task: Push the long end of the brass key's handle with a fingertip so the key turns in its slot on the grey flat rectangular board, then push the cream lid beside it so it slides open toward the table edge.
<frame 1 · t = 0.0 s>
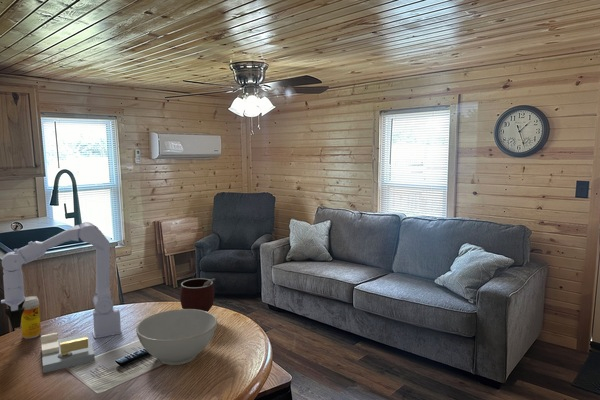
hand: (16, 323, 147), 10 cm above the table, tool pointing down, fingers open, 7 cm apart
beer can: (31, 336, 161), on the table
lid: (49, 343, 145), point 4 cm above the table, slide at 0.0 cm
grey flat rectangular board: (67, 354, 146), on the table
decorative bowl: (178, 357, 145), on the table
mate gourd: (199, 323, 174), on the table
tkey: (74, 346, 142), point 5 cm above the table, hinge at 0.0°
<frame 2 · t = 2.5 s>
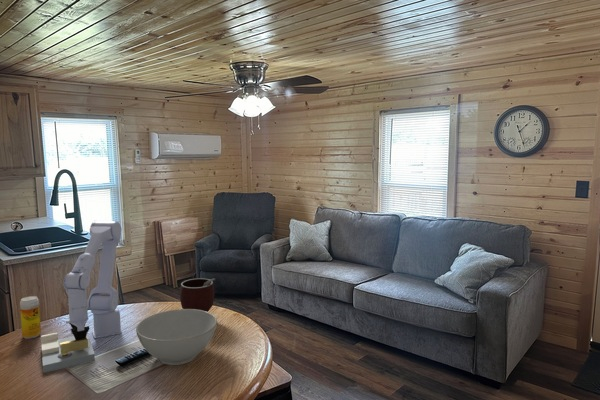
hand: (80, 343, 147), 4 cm above the table, tool pointing down, fingers open, 6 cm apart
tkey: (74, 346, 142), point 5 cm above the table, hinge at -2.3°, touching gripper
everything else where it was.
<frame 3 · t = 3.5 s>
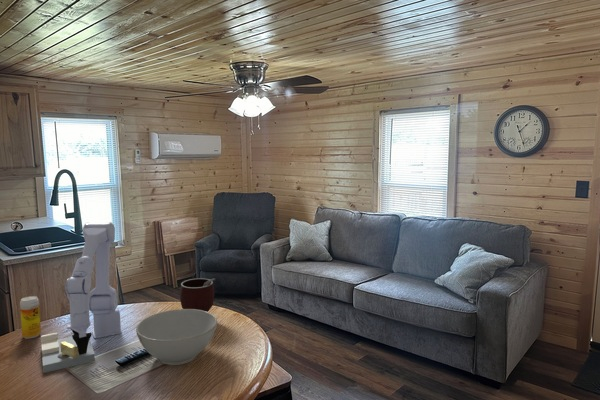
hand: (81, 349, 142), 4 cm above the table, tool pointing down, fingers open, 6 cm apart
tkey: (69, 351, 139), point 5 cm above the table, hinge at -65.9°, touching gripper
everything else where it was.
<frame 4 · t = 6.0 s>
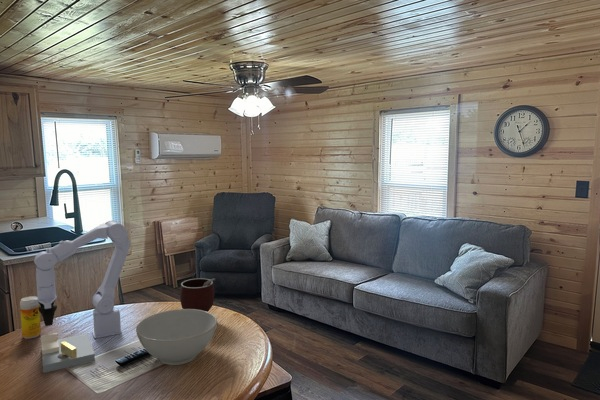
hand: (48, 321, 151), 9 cm above the table, tool pointing down, fingers open, 7 cm apart
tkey: (68, 351, 138), point 5 cm above the table, hinge at -70.0°
everything else where it was.
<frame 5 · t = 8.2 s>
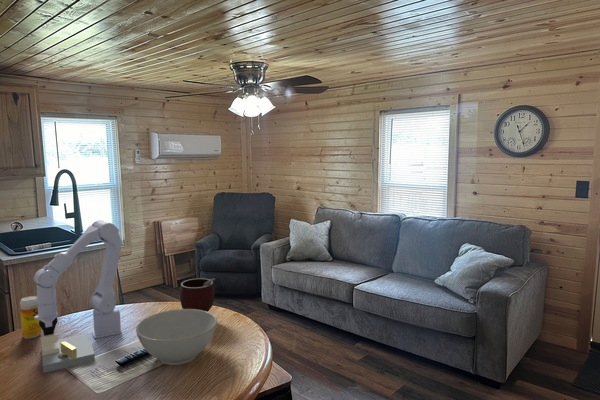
hand: (49, 339, 149), 4 cm above the table, tool pointing down, fingers closed
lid: (50, 344, 144), point 4 cm above the table, slide at 0.8 cm, touching gripper
everything else where it was.
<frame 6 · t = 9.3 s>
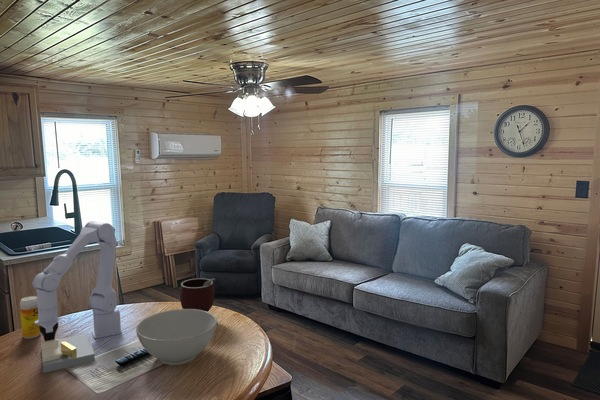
hand: (50, 344, 145), 4 cm above the table, tool pointing down, fingers closed
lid: (50, 350, 140), point 4 cm above the table, slide at 5.9 cm, touching gripper
everything else where it was.
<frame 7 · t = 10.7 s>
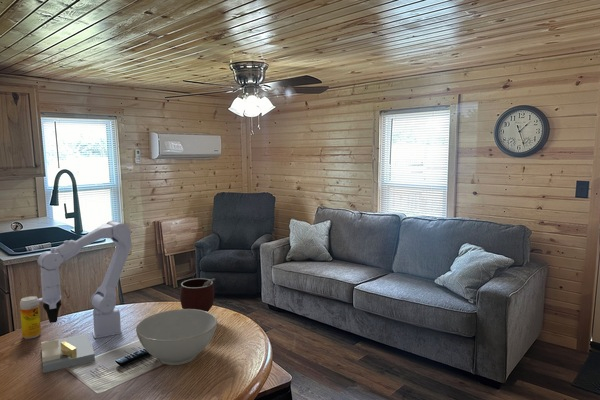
hand: (53, 321, 150), 10 cm above the table, tool pointing down, fingers closed
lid: (50, 350, 140), point 4 cm above the table, slide at 6.0 cm
everything else where it was.
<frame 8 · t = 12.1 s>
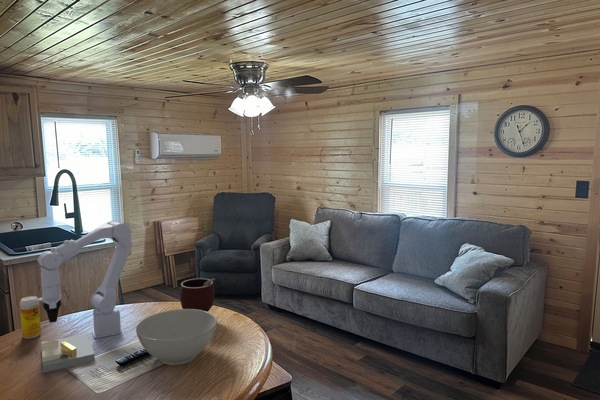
hand: (53, 321, 150), 10 cm above the table, tool pointing down, fingers closed
nothing on the table moved.
at the end: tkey at -70° (first picture: +0°); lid slide at 6.0 cm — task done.
